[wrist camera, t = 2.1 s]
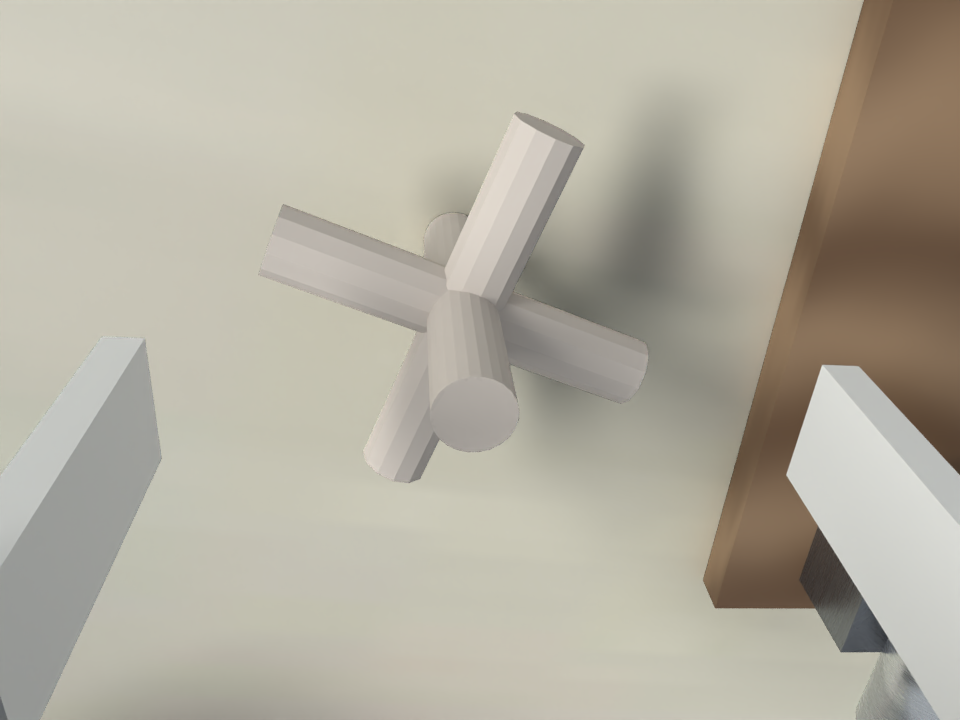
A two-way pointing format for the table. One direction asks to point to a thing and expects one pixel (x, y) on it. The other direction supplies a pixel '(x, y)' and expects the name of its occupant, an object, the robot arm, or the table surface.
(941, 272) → the board
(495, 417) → the pipe connector
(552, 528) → the table surface
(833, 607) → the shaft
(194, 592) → the table surface
